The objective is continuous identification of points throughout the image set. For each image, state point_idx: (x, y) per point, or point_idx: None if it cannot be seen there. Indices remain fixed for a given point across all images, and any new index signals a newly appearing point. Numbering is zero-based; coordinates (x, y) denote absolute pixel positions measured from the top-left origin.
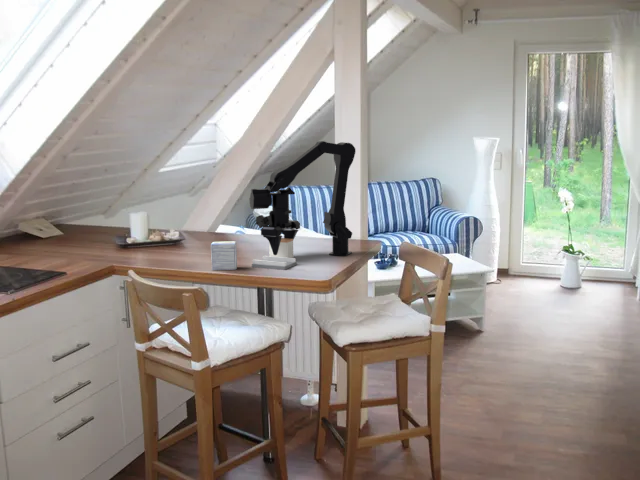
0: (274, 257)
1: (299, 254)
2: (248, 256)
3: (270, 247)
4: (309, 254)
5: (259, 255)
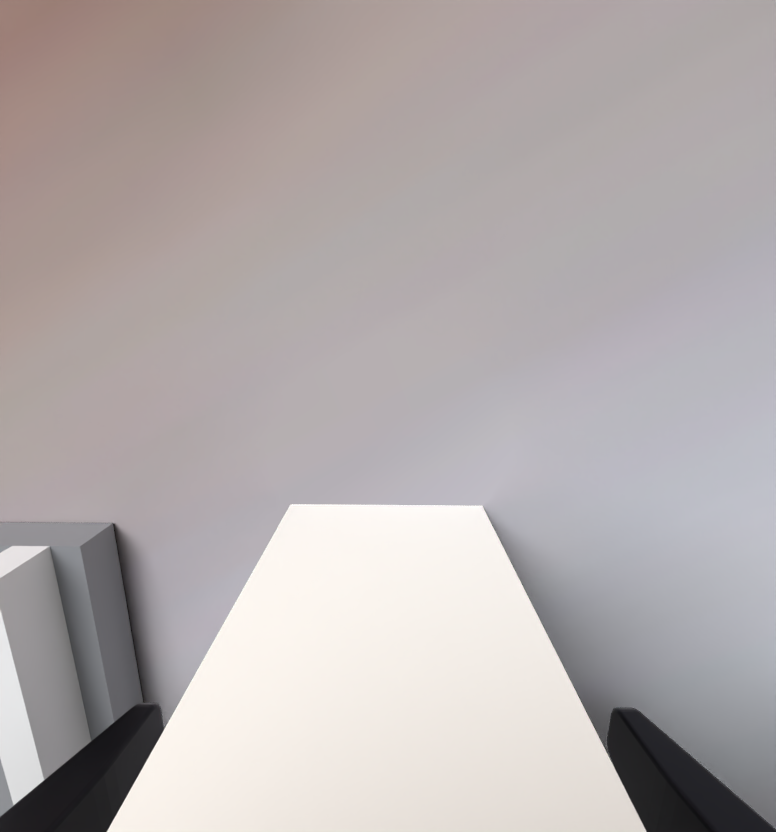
0: (9, 763)
1: (747, 708)
2: (373, 20)
3: (208, 684)
4: (768, 802)
5: (529, 190)
